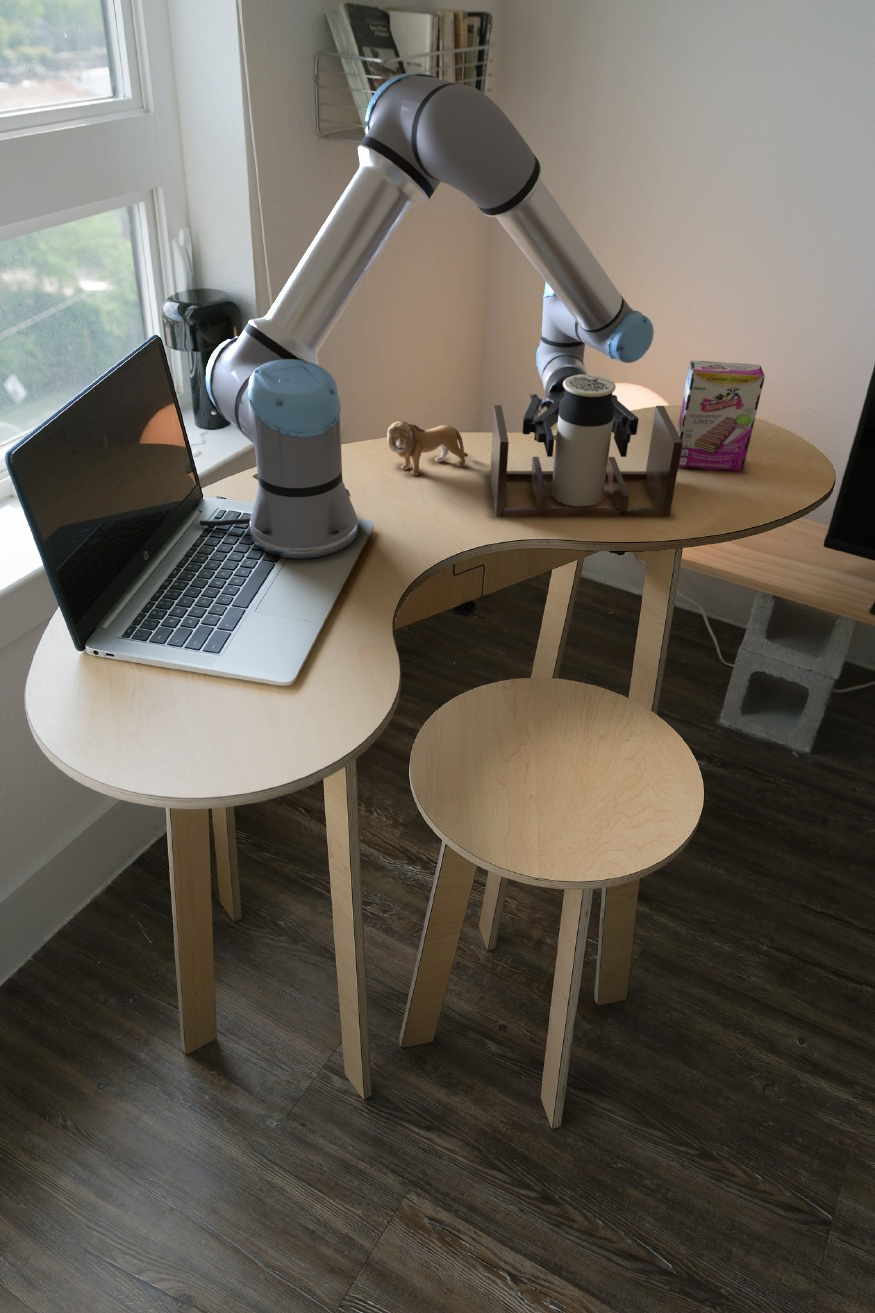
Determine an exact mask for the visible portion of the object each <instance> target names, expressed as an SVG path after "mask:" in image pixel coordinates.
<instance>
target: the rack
mask: <svg viewBox="0 0 875 1313" xmlns="http://www.w3.org/2000/svg"><path fill="white" fill-rule="evenodd" d="M492 415H493V416H492V430H491V431H492V433H491V453H490V469H489V470H490V472H489V473H490V474H489V478H490V485H491V491H492V492H491V493H492V499H493V504H494V505H493V506H494V512H495V517H498V518H499V517H501V518H505V517H506V518H510V517H511V518H512V517H513V518H518V517H519V518H521V517H522V518H525V517H526V518H529V517H530V518H532V517H533V518H538V517H539V518H541V517H542V518H547V517H549V518H562V517H563V518H564V517H565V518H570V517H571V518H573V517H574V518H575V517H576V518H582V517H583V518H584V517H585V518H590V517H591V518H593V517H595V518H607V517H608V518H620V517H622V518H628V517H629V518H631V517H633V518H635V517H636V518H640V517H641V518H644V517H645V518H649V517H650V518H652V517H653V518H669V517H671V511H672V506H673V499H674V495H675V488H676V482H677V477H678V471H679V467H678V466H679V460H680V454H681V449H682V443H683V442H682V440H681V439H680V437H679V435H678V433H677V428H676V427H675V425H674V423H673V421H672V419H671V417H670V415H669V413H668V411H667V409H666V407H665V406H664V405H655V411H654V417H653V424H652V430H651V436H650V443H649V450H648V456H647V462H646V469H645V470H640V471H639V470H638V471H637V470H635V471H634V470H626V471H625V470H623V471H622V470H620V467H619V465H618V462H617V460H616V457H615V456H608V464H607V471H606V479H605V481H607V484H608V487H609V489H610V493H611V495H612V498H613V502H614V504H615V507H548V501H549V495H548V494H549V493H548V489H547V486H546V481H545V480H553V470H543V469H542V465H541V461H540V457H539V456H532V459H531V469H530V470H508V459H509V443H510V442H509V436H508V432H507V427H506V421H505V416H504V411H503V406H502V404H494V405H493V412H492ZM507 480H531V483H532V488H533V493H534V497H535V501H536V507H506V492H507V491H506V489H507ZM626 480H627V481H629V480H630V481H631V480H634V481H635V480H636V481H641V480H642V481H645V480H646V483H647V485H648V487H649V490H650V492H651V494H652V497H653V499H654V501H655V504H656V506H657V507H629V501H630V495H629V494H630V493H629V491H628V488H627V486H626V484H625V483H626V482H625V481H626Z"/></svg>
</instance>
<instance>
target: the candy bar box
mask: <svg viewBox="0 0 875 1313" xmlns="http://www.w3.org/2000/svg"><path fill="white" fill-rule="evenodd" d="M765 377H766V375H765V373H764V370H763V368H762V365H761V364H754V363H737V362H724V361H723V362H722V361H709V360H689V364H688V369H687V375H686V380H685V385H684V391H683V396H682V402H681V407H680V412H679V417H678V419H679V420H678V422H677V428H676V431H677V433H678V435H679V437H680V439H681V440H682V442H683V443H682V449H681V454H680V460H679V466H678V468H682V469H683V468H685V469H699V470H700V469H701V470H715V471H730V472H743V471H744V467H745V463H746V460H747V458H746V457H747V455H748V450H749V446H750V442H751V437H752V434H753V429H754V426H755V425H754V424H755V421H756V416H757V412H758V409H759V408H758V407H759V403H760V399H761V394H762V391H763V388H764V382H765Z"/></svg>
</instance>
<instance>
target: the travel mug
mask: <svg viewBox="0 0 875 1313" xmlns="http://www.w3.org/2000/svg"><path fill="white" fill-rule="evenodd" d="M614 382H615V381H612V380H611V379H610V378H607V377H605V376H602V375H597V374H589V373H588V374H582V375H575V376H571V377H569V378H567V379H565V381H564V382H563V386H564V388H565V395H564V397H563V398H562V400H561V401H560V405H559V416H558V423H557V427H556V440H555V448H554V449H555V450H554V458H553V470H552V471H553V479H551V480H552V481H551V483H552V484H551V493H550V494H551V496H552V497H553V498H554V500H556V501H557V502H559V503H561V504H564V505H567V506H571V507H575V508H585V507H590V506H594V505H596V504H597V505H598V504H599V503H601V501H603V499H604V495H605V494H604V493H605V486H606V480H605V479H606V471H607V464H608V457H610V456H609V455H610V447H611V439H612V433H613V432H612V425H613V417H614V409H615V406H614V404H613V401H612V399H611V397H612V395H613V393H614V392H615V391H616V387H617V386H616V384H615V383H614Z"/></svg>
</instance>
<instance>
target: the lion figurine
mask: <svg viewBox="0 0 875 1313" xmlns="http://www.w3.org/2000/svg"><path fill="white" fill-rule="evenodd" d="M386 440H387V445H388V448H389V449H390V450H389V451H391V452H393V453H396V454H397V455H398V456H399V457H400V458H403V461H404V463H403V464H402V465H401V466H400V468H401V469H402V470H408V469H409V468H410V465H411V464H412V470H410V475H411V476H418V475H419V473H420V460H421V456H422V454H423V453H424V454H425V453H426V454H427V453H431V452H433V451H436V450H437V449H439V447H440V449H441V454H440V455H439V456H436V457H435V459H434V460H435V462H437V463H441V462H443V461H444V460H445V458H446V457H447V456H448V455H449V453H450V454H453V455H454V456H456V457H457V458H459V461H457V462H456V466H457V467H459V468H463V467H464V466H465V465H466V458H467V457H468V456H469V454H468V453H467V452H465V447H464V442H463V438H462V435H461V433H460V432H459V430H458V429H457V428H455V427H454V426H451V425H446V424H442V425H439V426H436V427H433V428H429V429H422V428H420V427H419V426H418V425H417V424H412V423H408V422H407V421H401V420H399V421H395V422H392V423H391V424H390V426H389V427H388V429H387V433H386ZM411 460H412V463H411Z"/></svg>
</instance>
